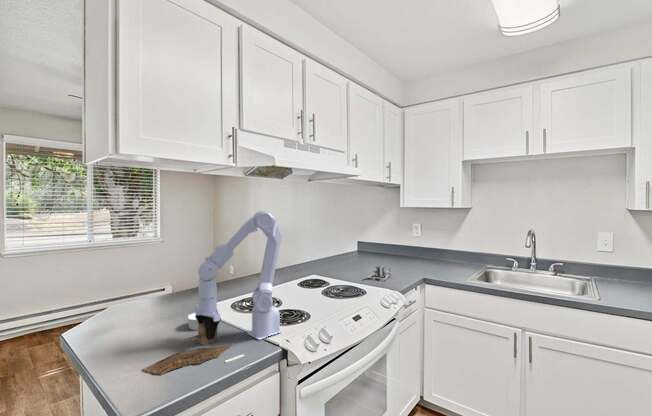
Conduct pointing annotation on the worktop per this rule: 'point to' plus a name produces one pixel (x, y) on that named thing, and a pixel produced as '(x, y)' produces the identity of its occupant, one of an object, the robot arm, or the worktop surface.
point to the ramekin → (193, 322)
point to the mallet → (201, 336)
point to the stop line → (234, 358)
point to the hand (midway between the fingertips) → (207, 336)
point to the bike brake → (379, 273)
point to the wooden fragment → (185, 359)
